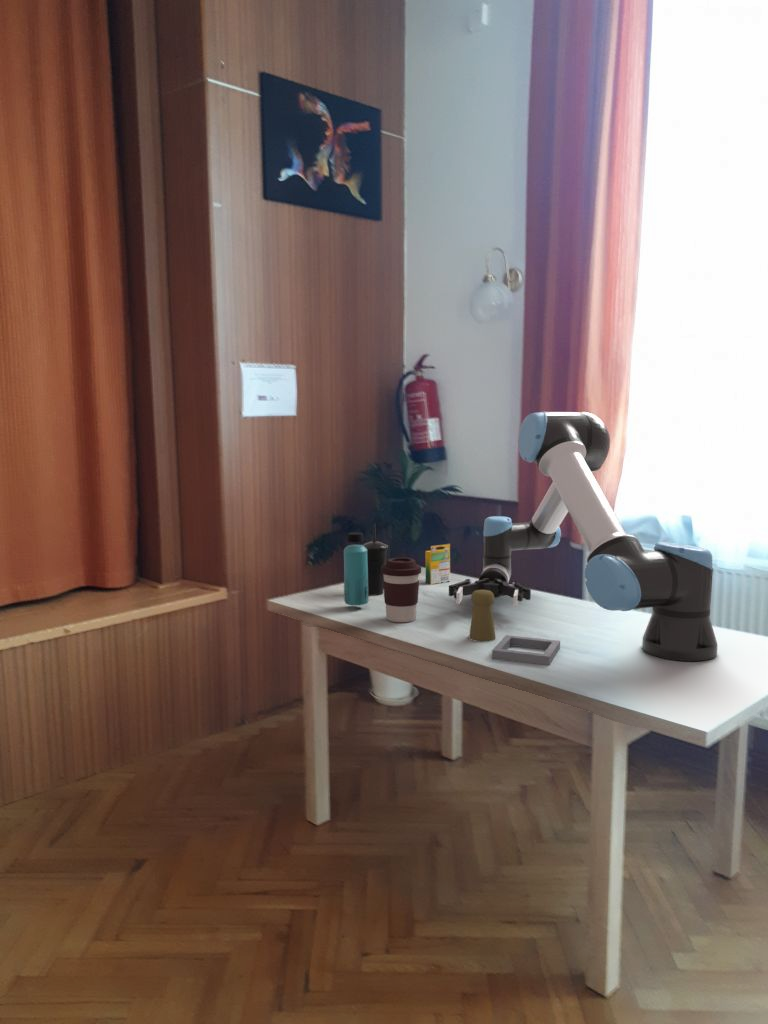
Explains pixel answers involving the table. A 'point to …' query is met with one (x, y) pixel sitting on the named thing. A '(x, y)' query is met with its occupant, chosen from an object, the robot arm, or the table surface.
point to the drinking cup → (375, 564)
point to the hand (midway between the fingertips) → (486, 599)
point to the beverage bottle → (355, 571)
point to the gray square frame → (529, 657)
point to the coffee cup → (401, 588)
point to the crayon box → (438, 564)
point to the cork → (482, 616)
